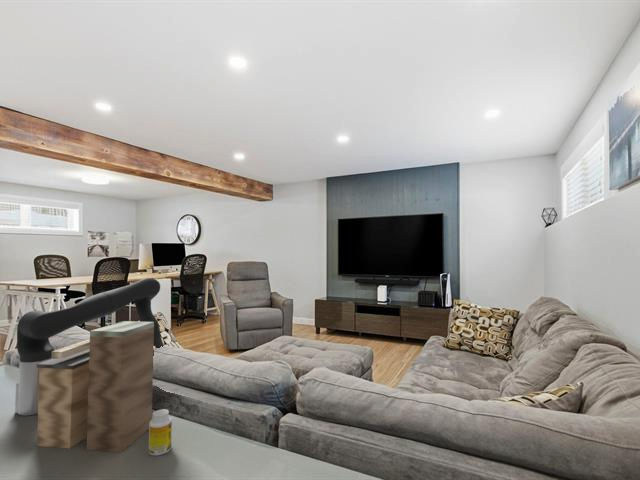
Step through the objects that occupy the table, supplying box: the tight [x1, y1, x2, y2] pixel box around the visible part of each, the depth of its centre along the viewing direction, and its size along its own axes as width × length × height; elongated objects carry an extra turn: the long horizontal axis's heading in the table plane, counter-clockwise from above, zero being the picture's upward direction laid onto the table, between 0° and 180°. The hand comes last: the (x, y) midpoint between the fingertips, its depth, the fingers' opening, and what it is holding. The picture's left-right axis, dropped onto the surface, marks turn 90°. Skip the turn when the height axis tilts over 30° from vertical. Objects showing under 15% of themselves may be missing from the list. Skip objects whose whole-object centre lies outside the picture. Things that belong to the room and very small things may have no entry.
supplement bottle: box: [148, 408, 173, 456], centre depth 95 cm, size 6×6×10 cm
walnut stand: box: [86, 320, 154, 453], centre depth 102 cm, size 10×14×32 cm
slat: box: [52, 338, 90, 359], centre depth 108 cm, size 3×22×2 cm, turn 173°
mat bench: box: [36, 349, 90, 449], centre depth 105 cm, size 11×17×22 cm, turn 173°
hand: (103, 334), depth 115 cm, fingers closed on slat, 3 cm apart
